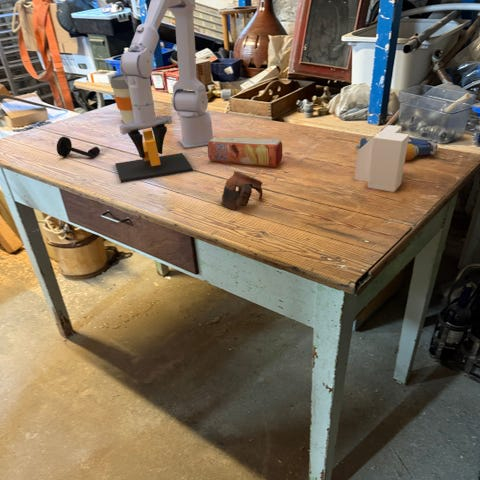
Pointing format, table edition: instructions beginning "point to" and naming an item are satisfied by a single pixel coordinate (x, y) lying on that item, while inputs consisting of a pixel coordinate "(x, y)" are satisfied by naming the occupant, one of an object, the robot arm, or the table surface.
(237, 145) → the snack package
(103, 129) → the table surface
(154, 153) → the pipe clamp
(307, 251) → the table surface
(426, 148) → the spray gun
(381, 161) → the corner bracket
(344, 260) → the table surface
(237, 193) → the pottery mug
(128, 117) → the reusable coffee cup
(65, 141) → the light fixture
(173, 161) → the mat
